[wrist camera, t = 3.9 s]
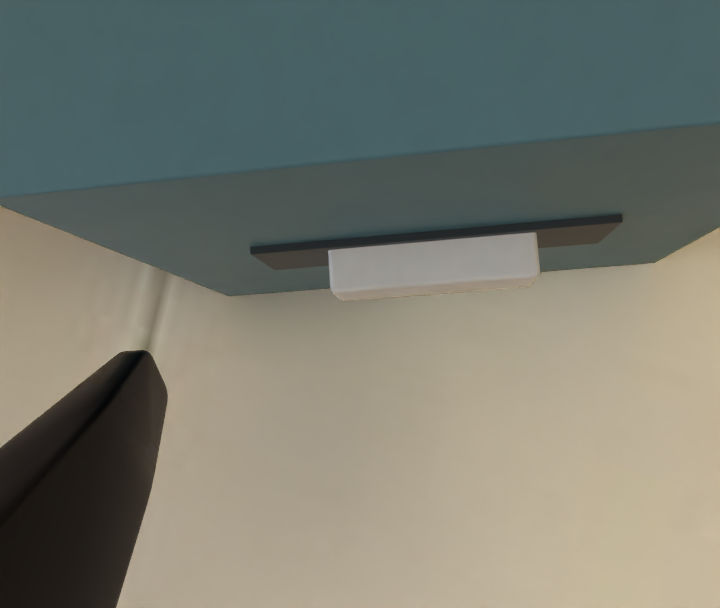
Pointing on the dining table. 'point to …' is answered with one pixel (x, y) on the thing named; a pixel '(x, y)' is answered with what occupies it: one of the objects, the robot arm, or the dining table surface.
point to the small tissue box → (364, 136)
